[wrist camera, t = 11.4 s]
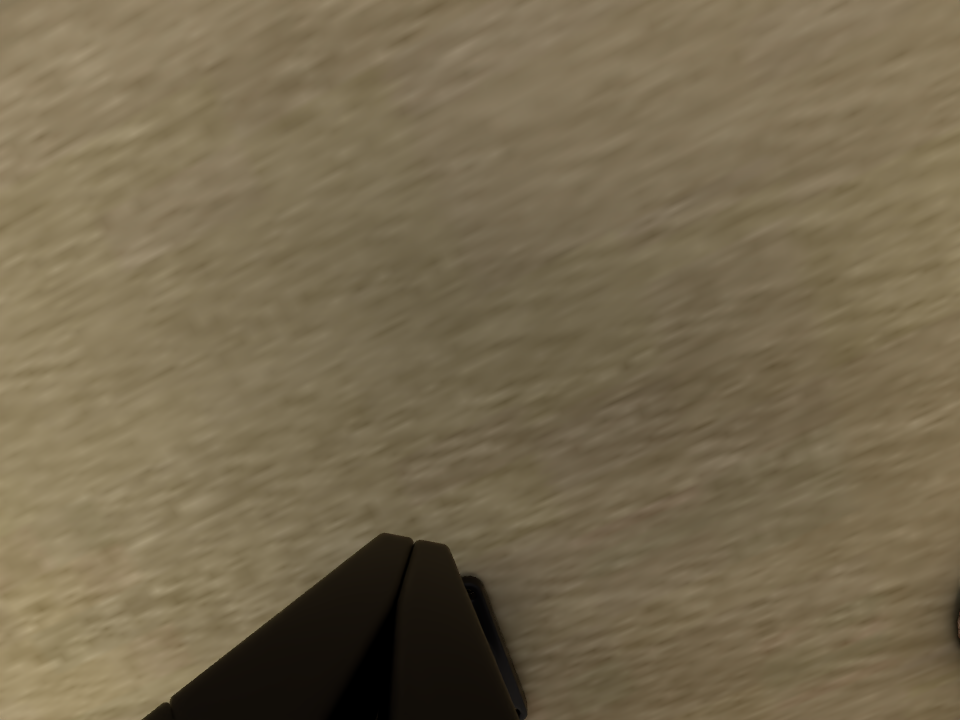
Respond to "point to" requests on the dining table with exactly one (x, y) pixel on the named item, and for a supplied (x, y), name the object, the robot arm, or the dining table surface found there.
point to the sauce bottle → (959, 625)
